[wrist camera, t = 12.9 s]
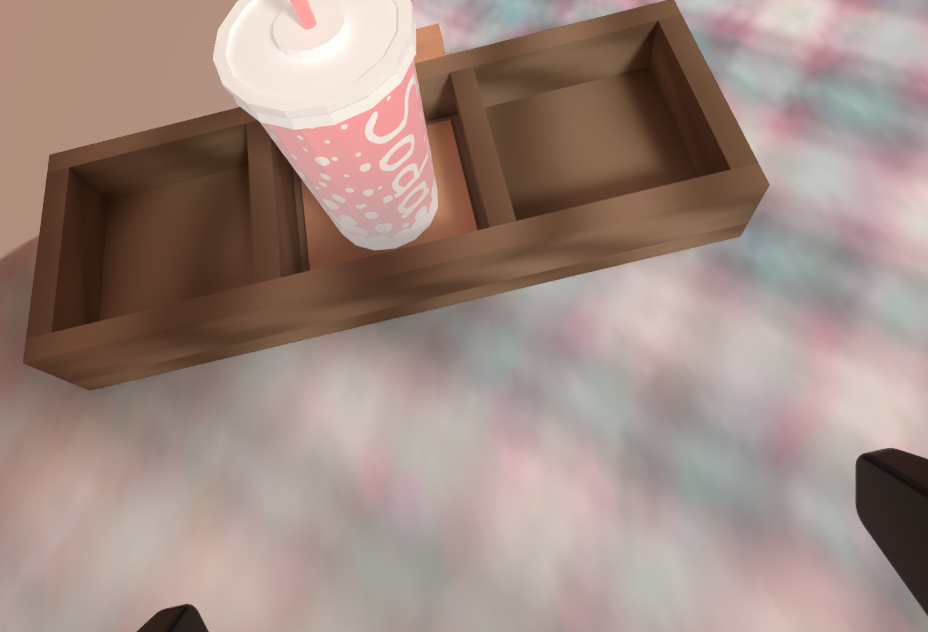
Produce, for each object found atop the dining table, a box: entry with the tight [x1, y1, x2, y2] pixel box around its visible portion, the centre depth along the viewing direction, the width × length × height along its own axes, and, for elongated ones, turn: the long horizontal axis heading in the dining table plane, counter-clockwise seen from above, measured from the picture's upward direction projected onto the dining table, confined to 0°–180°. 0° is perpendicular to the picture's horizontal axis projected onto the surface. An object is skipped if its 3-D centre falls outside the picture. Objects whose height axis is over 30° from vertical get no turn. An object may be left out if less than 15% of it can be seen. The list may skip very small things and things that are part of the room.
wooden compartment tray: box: [23, 0, 770, 390], centre depth 25 cm, size 28×11×4 cm, turn 102°
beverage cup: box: [213, 0, 438, 250], centre depth 19 cm, size 6×6×14 cm
